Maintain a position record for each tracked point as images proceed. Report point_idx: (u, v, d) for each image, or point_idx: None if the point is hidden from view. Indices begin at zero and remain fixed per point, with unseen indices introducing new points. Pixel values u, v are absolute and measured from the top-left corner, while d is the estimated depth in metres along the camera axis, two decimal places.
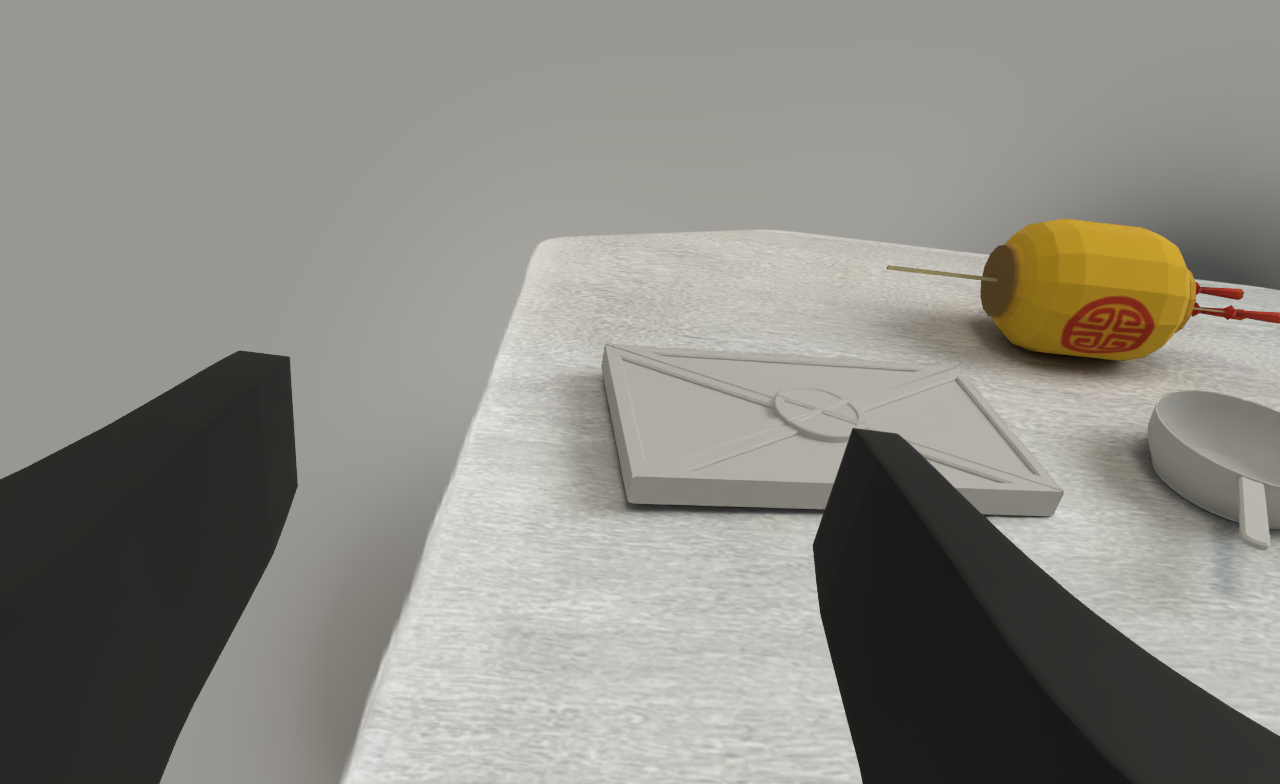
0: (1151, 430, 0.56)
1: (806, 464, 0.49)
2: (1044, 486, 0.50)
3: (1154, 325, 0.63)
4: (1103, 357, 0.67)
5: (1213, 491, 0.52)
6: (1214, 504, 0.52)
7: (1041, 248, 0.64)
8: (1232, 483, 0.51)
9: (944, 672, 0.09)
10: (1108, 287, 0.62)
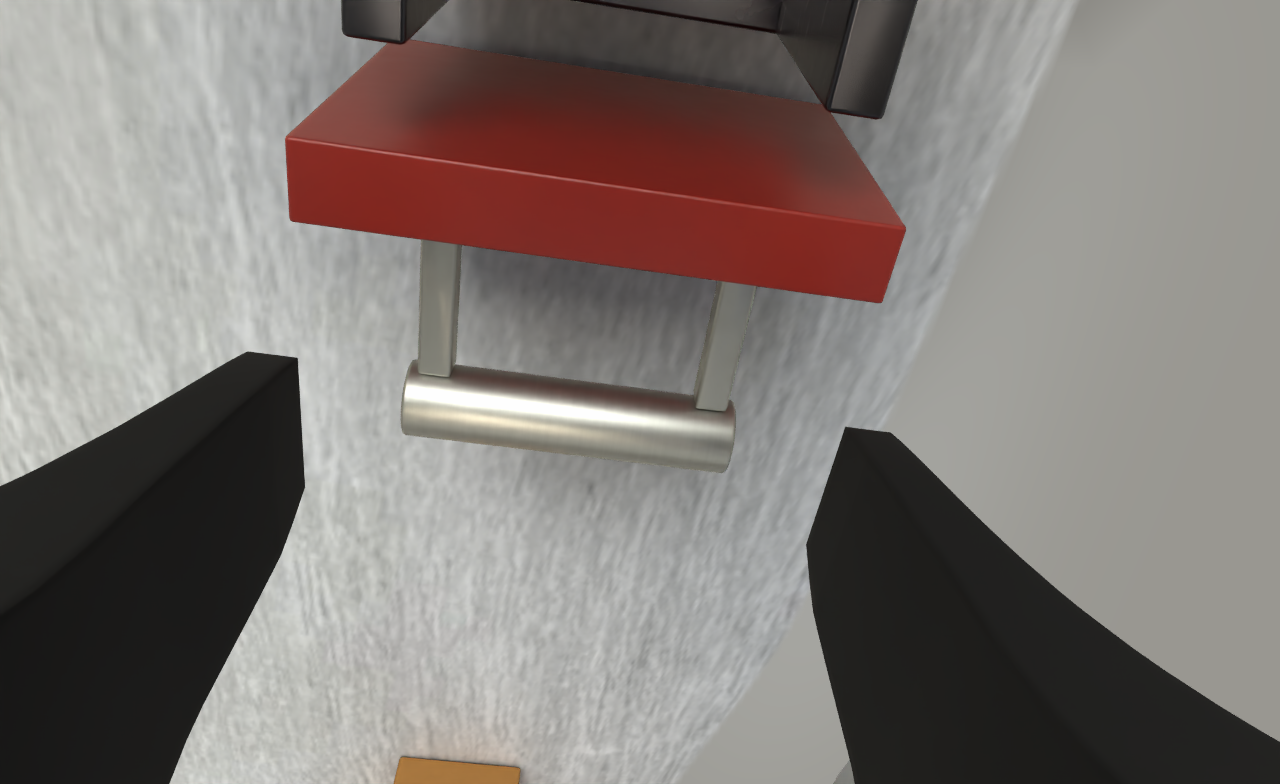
0: None
1: None
2: None
3: None
4: None
5: None
6: None
7: None
8: None
9: (934, 671, 0.09)
10: None
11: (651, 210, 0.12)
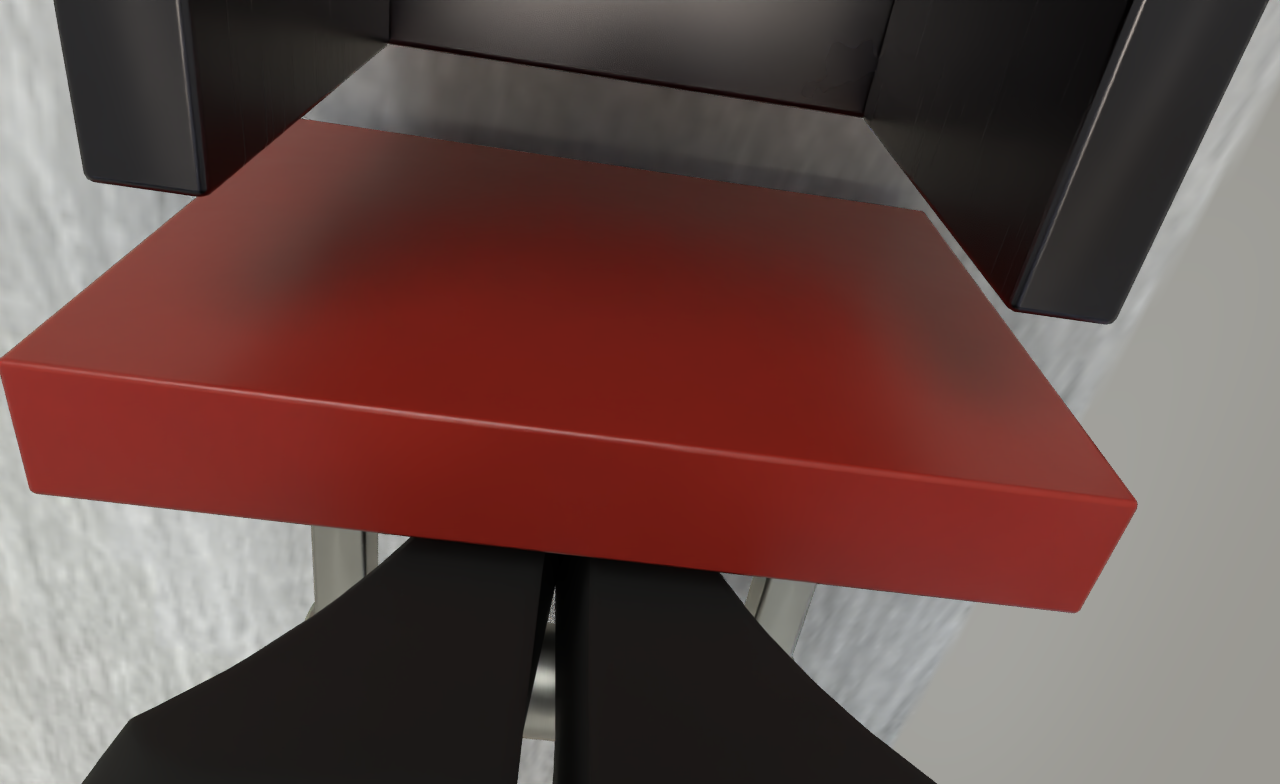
0: None
1: None
2: None
3: None
4: None
5: None
6: None
7: None
8: None
9: (577, 634, 0.08)
10: None
11: (681, 478, 0.07)
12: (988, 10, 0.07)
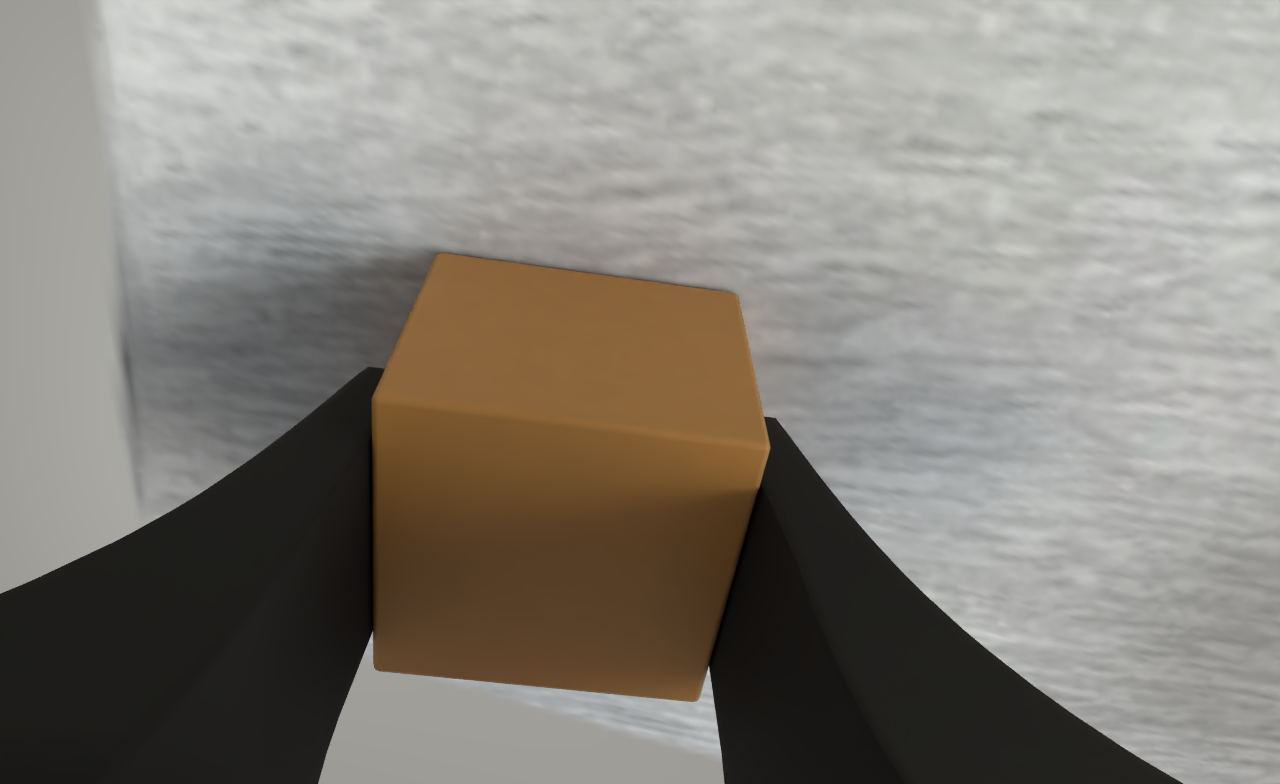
0: None
1: None
2: None
3: None
4: None
5: None
6: None
7: None
8: None
9: (779, 655, 0.08)
10: None
11: None
12: None
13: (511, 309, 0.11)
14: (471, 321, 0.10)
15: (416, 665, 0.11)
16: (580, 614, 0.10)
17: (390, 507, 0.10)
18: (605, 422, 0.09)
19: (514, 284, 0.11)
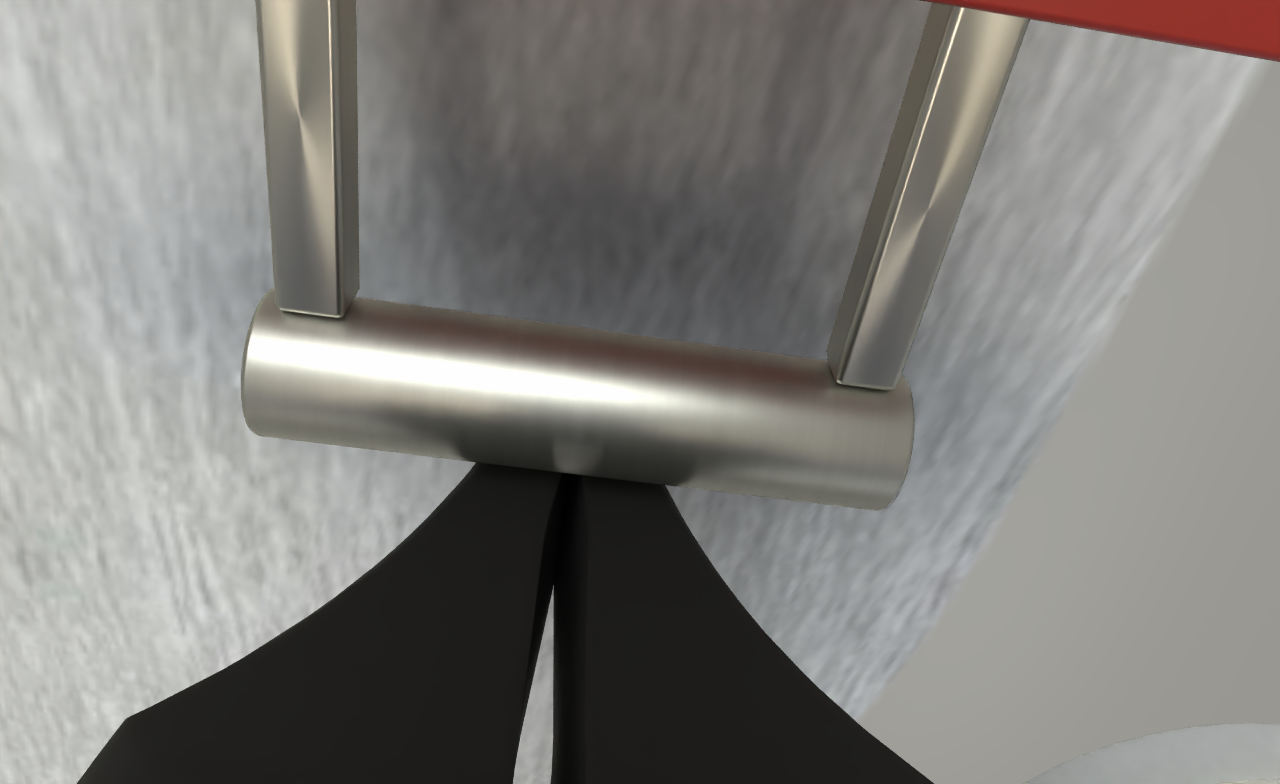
0: None
1: None
2: None
3: None
4: None
5: None
6: None
7: None
8: None
9: (575, 634, 0.08)
10: None
11: None
12: None
13: None
14: None
15: None
16: None
17: None
18: None
19: None
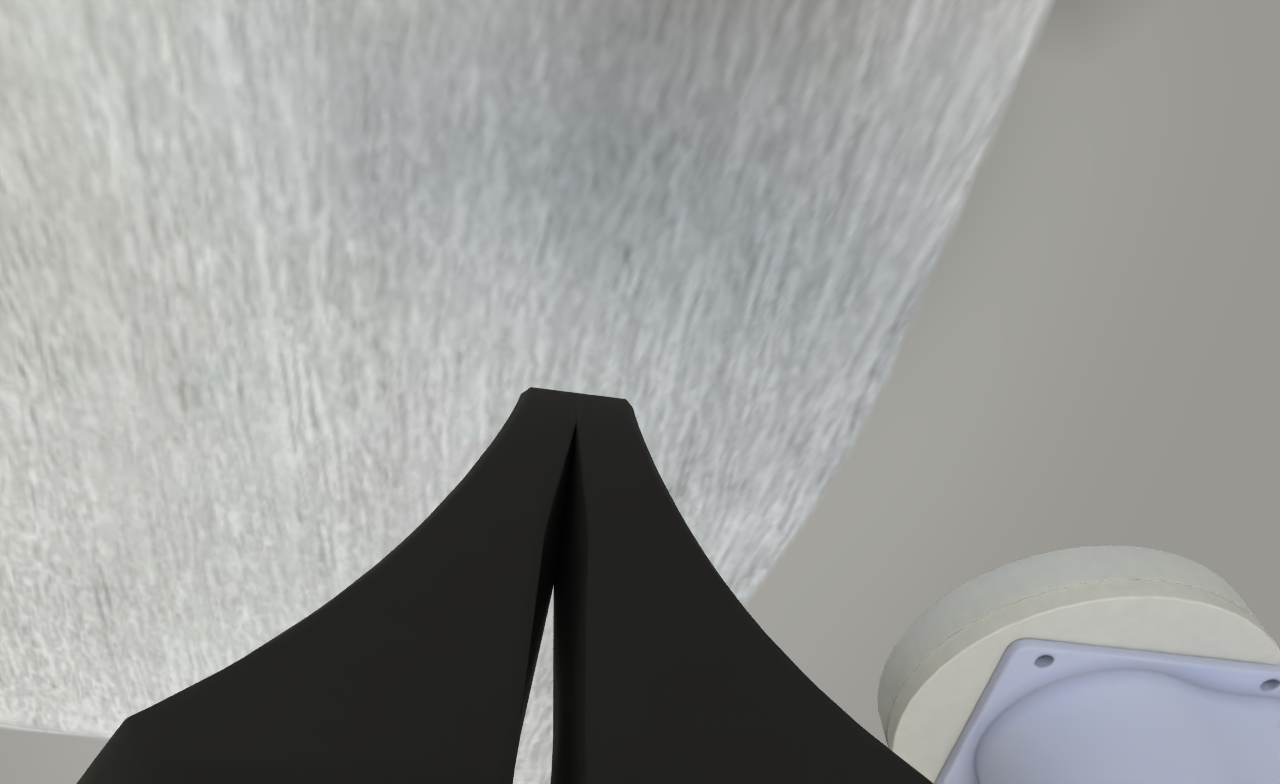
0: None
1: None
2: None
3: None
4: None
5: None
6: None
7: None
8: None
9: (575, 634, 0.08)
10: None
11: None
12: None
13: None
14: None
15: None
16: None
17: None
18: None
19: None
